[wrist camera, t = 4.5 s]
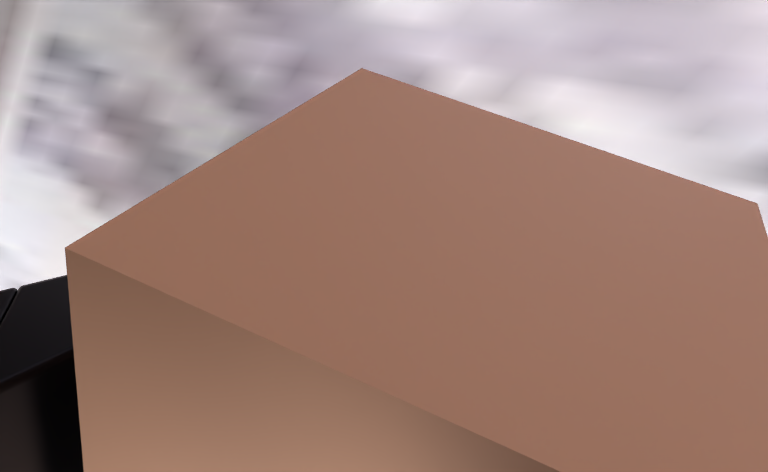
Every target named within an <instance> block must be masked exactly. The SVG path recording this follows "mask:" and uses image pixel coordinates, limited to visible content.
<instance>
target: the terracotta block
mask: <svg viewBox="0 0 768 472" xmlns="http://www.w3.org/2000/svg"><path fill="white" fill-rule="evenodd" d="M65 254H66V266H67V278H68V290H69V302H70V314H71V326H72V338H73V350H74V362H75V373H76V385H77V397H78V409H79V421H80V433H81V445H82V457H83V469H84V472H768V237H767V234H766V230H765V227H764V224H763V220H762V217H761V214H760V211H759V207H758V204H757V203H754V202H751V201H748V200H746V199H743V198H740V197H737V196H734V195H731V194H728V193H725V192H722V191H719V190H716V189H713V188H710V187H708V186H705V185H702V184H699V183H696V182H693V181H690V180H687V179H684V178H681V177H678V176H675V175H672V174H670V173H667V172H664V171H661V170H658V169H655V168H652V167H649V166H646V165H643V164H640V163H637V162H634V161H632V160H629V159H626V158H623V157H620V156H617V155H614V154H611V153H608V152H605V151H602V150H599V149H596V148H594V147H591V146H588V145H585V144H582V143H579V142H576V141H573V140H570V139H567V138H564V137H561V136H558V135H556V134H553V133H550V132H547V131H544V130H541V129H538V128H535V127H532V126H529V125H526V124H523V123H520V122H518V121H515V120H512V119H509V118H506V117H503V116H500V115H497V114H494V113H491V112H488V111H485V110H482V109H480V108H477V107H474V106H471V105H468V104H465V103H462V102H459V101H456V100H453V99H450V98H447V97H444V96H442V95H439V94H436V93H433V92H430V91H427V90H424V89H421V88H418V87H415V86H412V85H409V84H406V83H404V82H401V81H398V80H395V79H392V78H389V77H386V76H383V75H380V74H377V73H374V72H371V71H368V70H366V69H363V68H361V69H360V70H358V71H356V72H355V73H353V74H351V75H350V76H348V77H346V78H345V79H343V80H341V81H340V82H338V83H336V84H335V85H333V86H331V87H330V88H328V89H326V90H325V91H323V92H322V93H320V94H318V95H317V96H315V97H313V98H312V99H310V100H308V101H307V102H305V103H303V104H302V105H300V106H298V107H297V108H295V109H293V110H292V111H290V112H288V113H287V114H285V115H284V116H282V117H280V118H279V119H277V120H275V121H274V122H272V123H270V124H269V125H267V126H265V127H264V128H262V129H260V130H259V131H257V132H255V133H254V134H252V135H251V136H249V137H247V138H246V139H244V140H242V141H241V142H239V143H237V144H236V145H234V146H232V147H231V148H229V149H227V150H226V151H224V152H222V153H221V154H219V155H217V156H216V157H214V158H213V159H211V160H209V161H208V162H206V163H204V164H203V165H201V166H199V167H198V168H196V169H194V170H193V171H191V172H189V173H188V174H186V175H184V176H183V177H181V178H179V179H178V180H176V181H175V182H173V183H171V184H170V185H168V186H166V187H165V188H163V189H161V190H160V191H158V192H156V193H155V194H153V195H151V196H150V197H148V198H146V199H145V200H143V201H141V202H140V203H138V204H137V205H135V206H133V207H132V208H130V209H128V210H127V211H125V212H123V213H122V214H120V215H118V216H117V217H115V218H113V219H112V220H110V221H108V222H107V223H105V224H103V225H102V226H100V227H99V228H97V229H95V230H94V231H92V232H90V233H89V234H87V235H85V236H84V237H82V238H80V239H79V240H77V241H75V242H74V243H72V244H70V245H69V246H67V247H65Z"/></svg>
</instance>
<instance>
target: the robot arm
mask: <svg viewBox="0 0 768 472" xmlns="http://www.w3.org/2000/svg"><path fill="white" fill-rule="evenodd" d="M0 472H84V469H83V457H82V445H81V433H80V421H79V409H78V397H77V385H76V373H75V362H74V350H73V338H72V326H71V314H70V302H69V290H68V278H67V275H65V276H61V277H56V278H52V279H48V280H44V281H40V282H36V283H32V284H27V285H23V286H21V287H20V288H19V289H18V290H17V289H15V288H10V289H6V290H2V291H0Z"/></svg>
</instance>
